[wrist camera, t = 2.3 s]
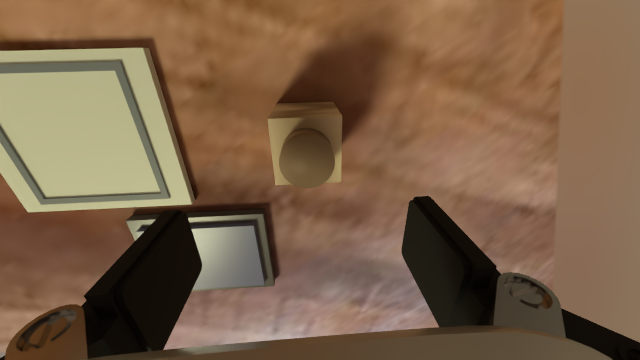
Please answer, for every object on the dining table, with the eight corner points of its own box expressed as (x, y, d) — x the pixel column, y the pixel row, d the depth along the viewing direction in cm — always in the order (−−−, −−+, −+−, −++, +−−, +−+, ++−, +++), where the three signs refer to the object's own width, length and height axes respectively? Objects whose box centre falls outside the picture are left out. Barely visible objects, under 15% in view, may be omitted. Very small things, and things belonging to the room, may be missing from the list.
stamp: (333, 101, 22) (346, 123, 14) (332, 153, 24) (344, 195, 17) (276, 103, 21) (262, 126, 14) (282, 155, 24) (272, 198, 17)
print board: (148, 48, 19) (141, 47, 18) (195, 200, 25) (191, 205, 24) (-68, 53, 18) (-88, 52, 17) (35, 207, 25) (25, 213, 24)
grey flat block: (264, 208, 26) (261, 217, 25) (275, 279, 31) (273, 290, 30) (132, 215, 26) (121, 224, 24) (164, 286, 31) (157, 297, 29)
